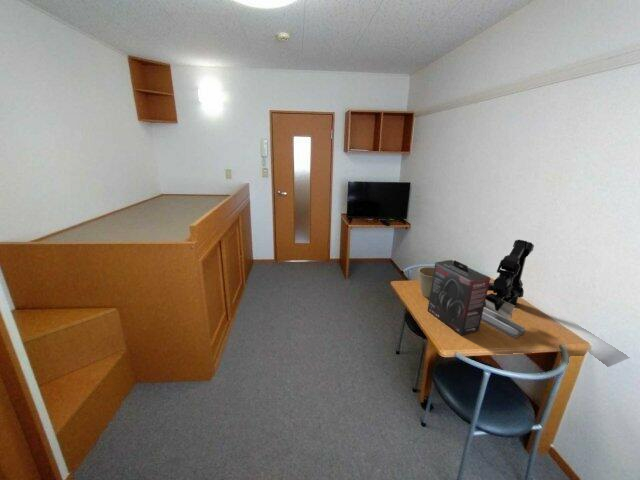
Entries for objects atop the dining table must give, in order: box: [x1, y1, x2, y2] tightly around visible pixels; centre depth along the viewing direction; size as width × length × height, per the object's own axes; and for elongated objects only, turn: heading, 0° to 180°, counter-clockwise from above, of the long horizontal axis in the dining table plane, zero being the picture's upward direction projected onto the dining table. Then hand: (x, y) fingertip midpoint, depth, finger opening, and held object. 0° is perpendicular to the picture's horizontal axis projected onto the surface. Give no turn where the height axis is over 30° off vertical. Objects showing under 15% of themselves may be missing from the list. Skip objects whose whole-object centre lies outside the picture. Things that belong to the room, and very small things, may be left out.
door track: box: [481, 307, 526, 339], centre depth 150 cm, size 10×24×4 cm, turn 28°
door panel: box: [485, 300, 516, 320], centre depth 148 cm, size 3×12×7 cm, turn 28°
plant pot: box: [418, 266, 434, 299], centre depth 175 cm, size 15×15×16 cm
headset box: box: [427, 259, 491, 336], centre depth 147 cm, size 24×13×33 cm, turn 21°
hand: (498, 309), depth 148 cm, fingers closed on door panel, 3 cm apart
